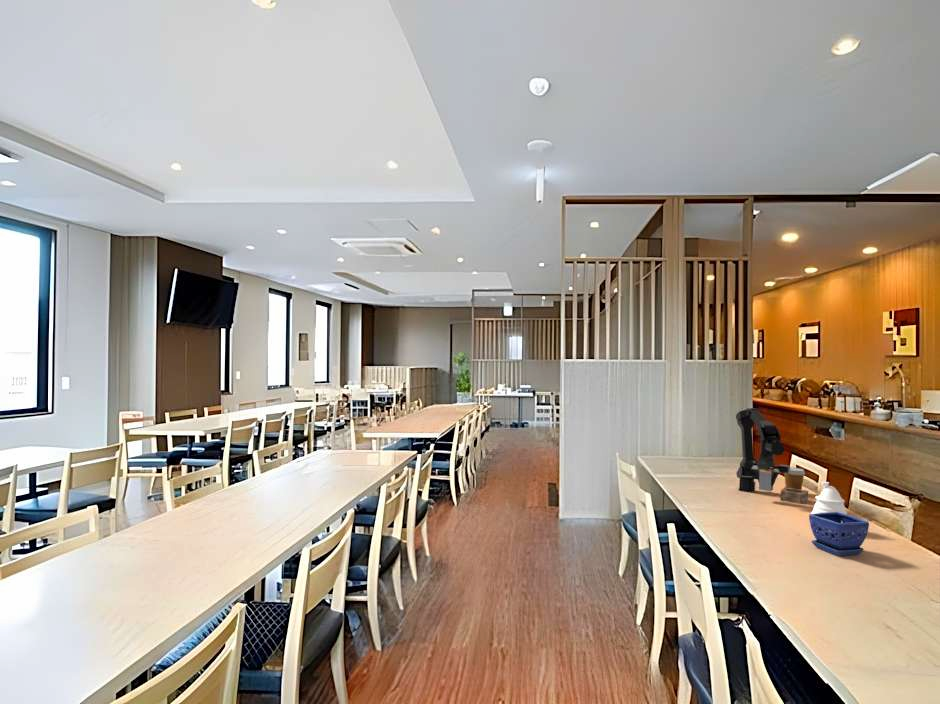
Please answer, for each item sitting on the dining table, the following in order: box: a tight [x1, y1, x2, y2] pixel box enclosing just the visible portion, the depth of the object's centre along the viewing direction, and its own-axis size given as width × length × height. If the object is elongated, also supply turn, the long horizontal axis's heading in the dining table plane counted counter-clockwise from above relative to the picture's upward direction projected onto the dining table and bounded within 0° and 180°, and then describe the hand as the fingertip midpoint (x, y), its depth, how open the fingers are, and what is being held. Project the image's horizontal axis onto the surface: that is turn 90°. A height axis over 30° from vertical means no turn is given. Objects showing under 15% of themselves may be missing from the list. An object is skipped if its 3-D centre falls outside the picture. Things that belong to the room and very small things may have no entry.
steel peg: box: [758, 469, 775, 492], centre depth 277 cm, size 5×5×9 cm
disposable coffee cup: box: [783, 467, 806, 490], centre depth 295 cm, size 10×10×12 cm
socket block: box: [780, 486, 809, 505], centre depth 281 cm, size 10×10×4 cm
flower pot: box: [808, 512, 870, 557], centre depth 209 cm, size 13×13×12 cm
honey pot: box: [810, 480, 848, 523], centre depth 237 cm, size 13×13×18 cm
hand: (766, 485), depth 277 cm, fingers closed on steel peg, 5 cm apart
